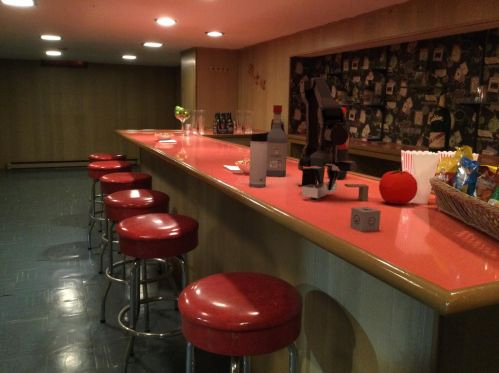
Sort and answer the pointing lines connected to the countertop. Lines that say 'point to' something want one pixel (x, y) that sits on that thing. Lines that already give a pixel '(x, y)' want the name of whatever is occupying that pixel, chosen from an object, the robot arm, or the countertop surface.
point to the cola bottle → (342, 152)
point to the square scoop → (318, 190)
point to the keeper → (360, 191)
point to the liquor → (276, 147)
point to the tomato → (398, 187)
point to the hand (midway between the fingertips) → (325, 189)
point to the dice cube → (365, 219)
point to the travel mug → (258, 160)
